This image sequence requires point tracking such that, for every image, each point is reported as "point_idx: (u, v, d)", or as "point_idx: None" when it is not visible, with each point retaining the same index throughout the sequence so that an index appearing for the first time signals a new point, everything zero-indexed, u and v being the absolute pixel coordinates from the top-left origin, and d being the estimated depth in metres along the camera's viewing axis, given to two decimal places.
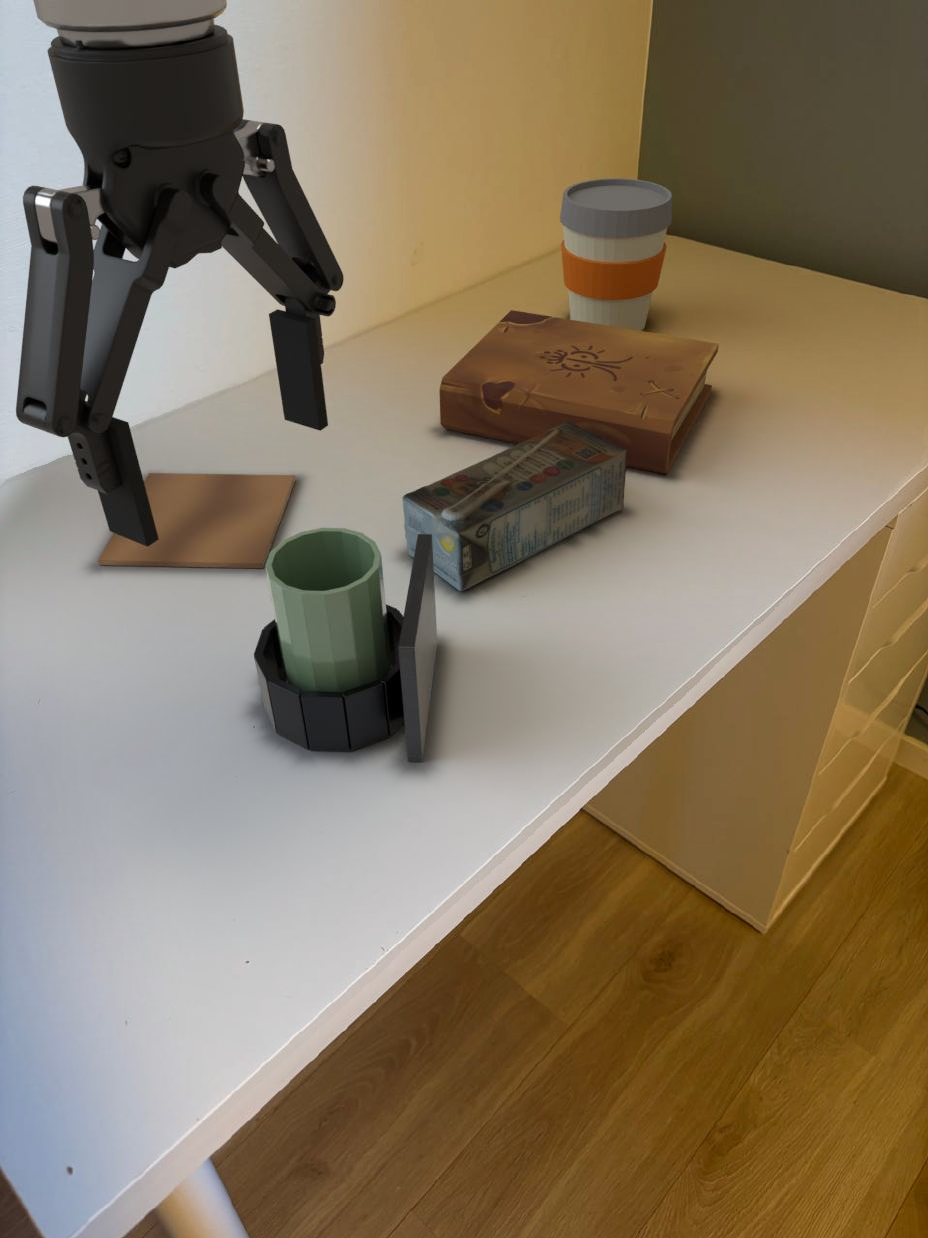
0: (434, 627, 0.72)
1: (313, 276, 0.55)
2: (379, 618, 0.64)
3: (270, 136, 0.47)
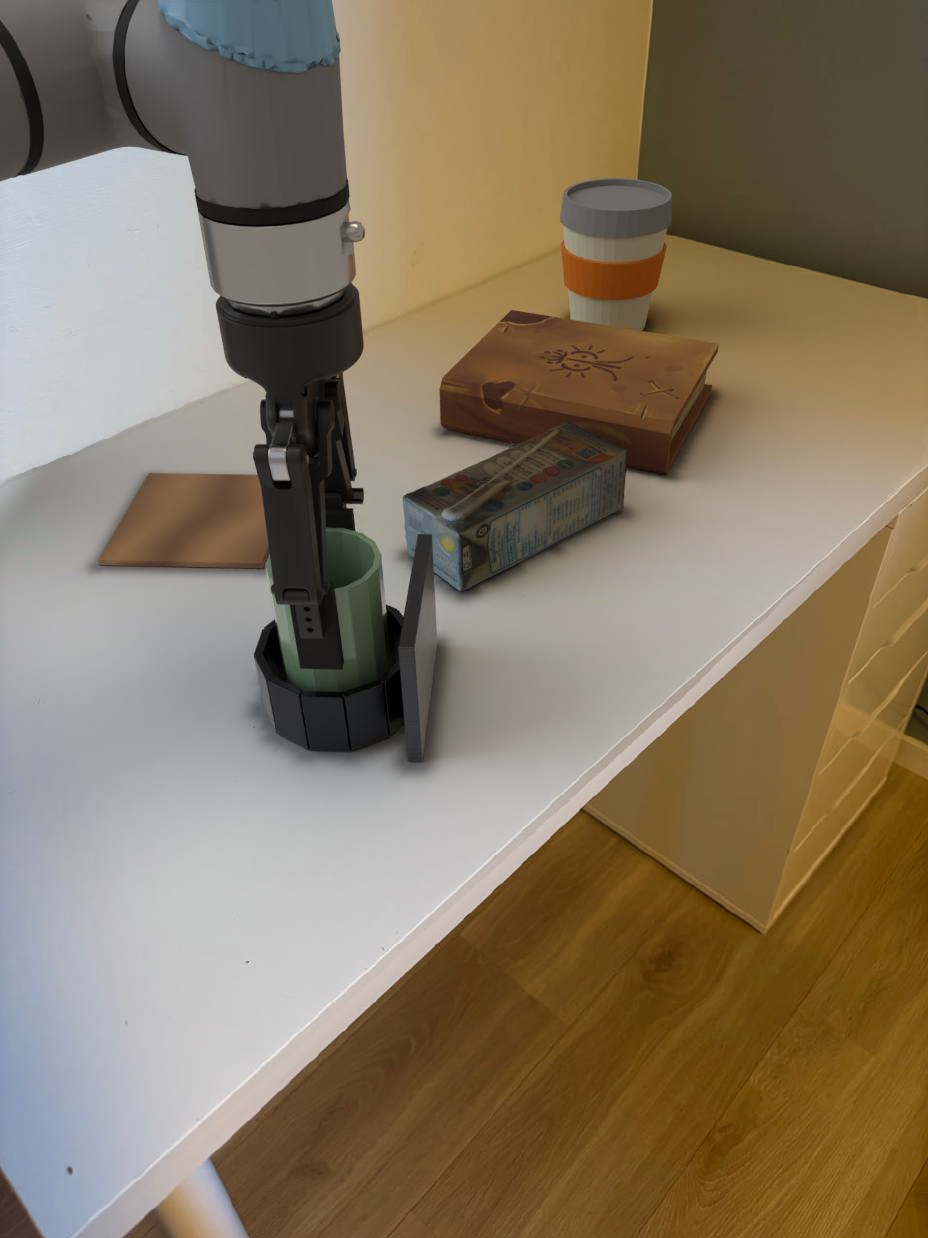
0: (434, 627, 0.72)
1: None
2: (379, 618, 0.64)
3: None
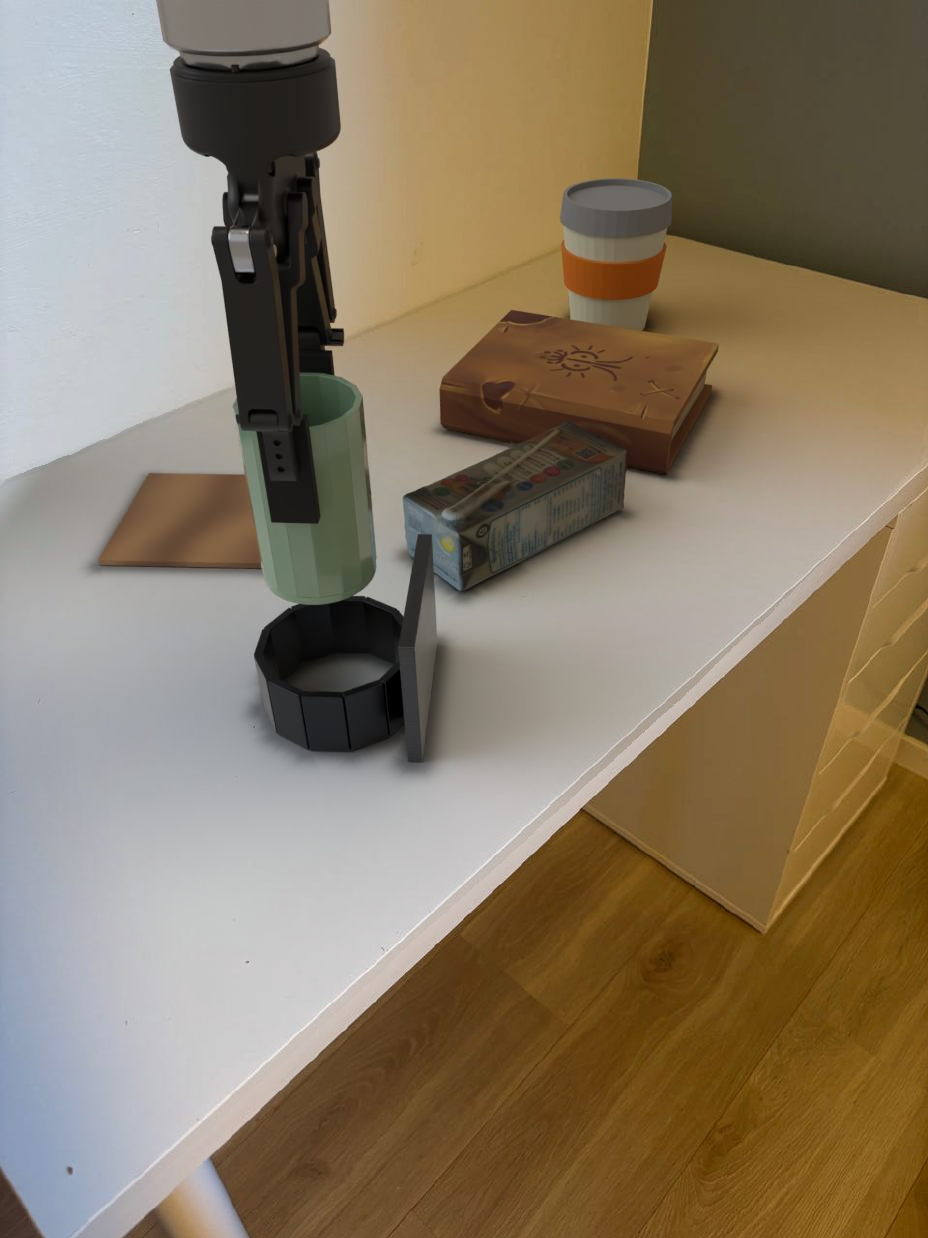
0: (434, 627, 0.72)
1: None
2: (360, 470, 0.58)
3: (313, 159, 0.54)
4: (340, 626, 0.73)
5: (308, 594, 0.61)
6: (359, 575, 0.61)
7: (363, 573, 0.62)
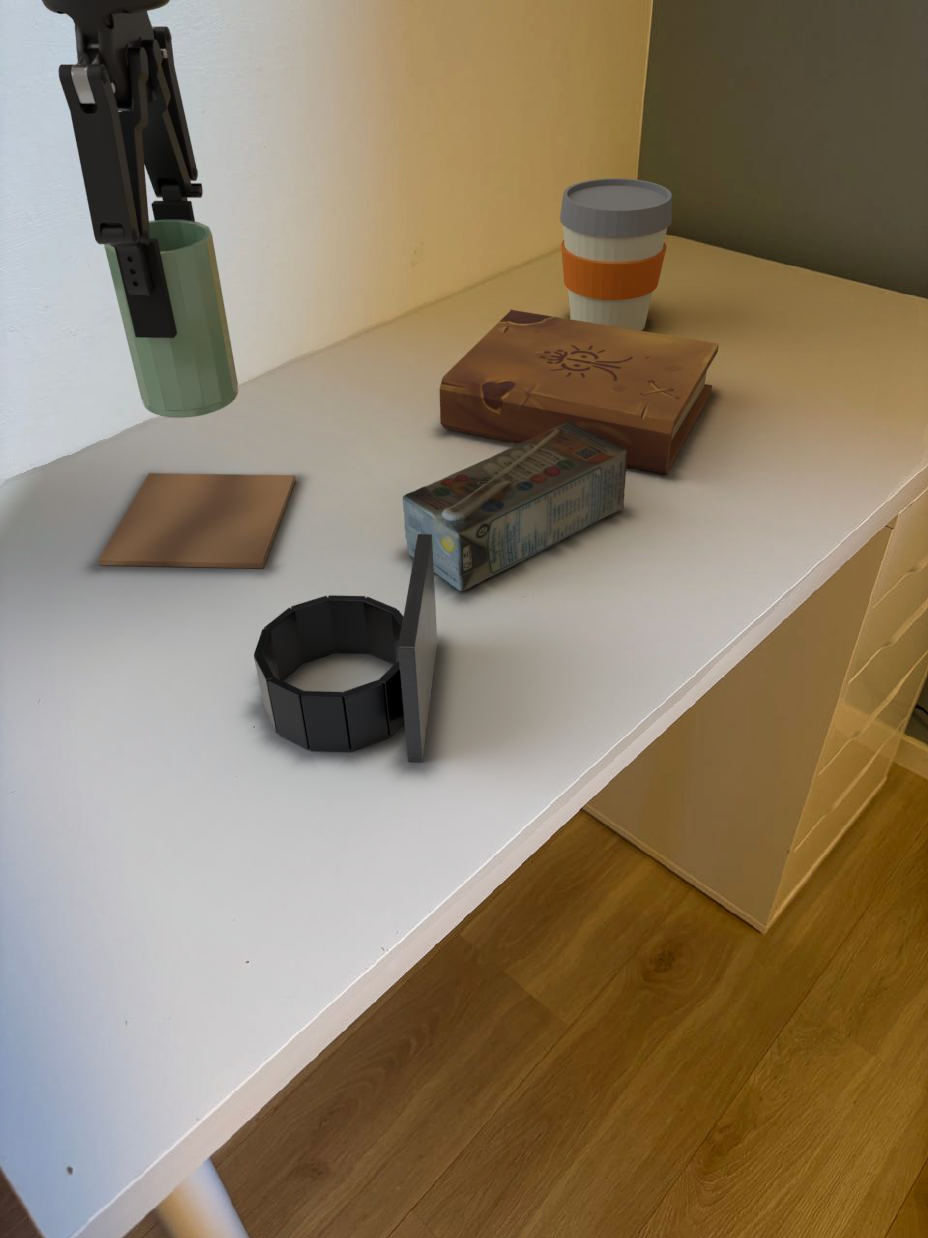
0: (434, 627, 0.72)
1: None
2: (212, 296, 0.70)
3: (164, 32, 0.66)
4: (340, 626, 0.73)
5: (174, 407, 0.73)
6: (218, 393, 0.73)
7: (222, 392, 0.74)
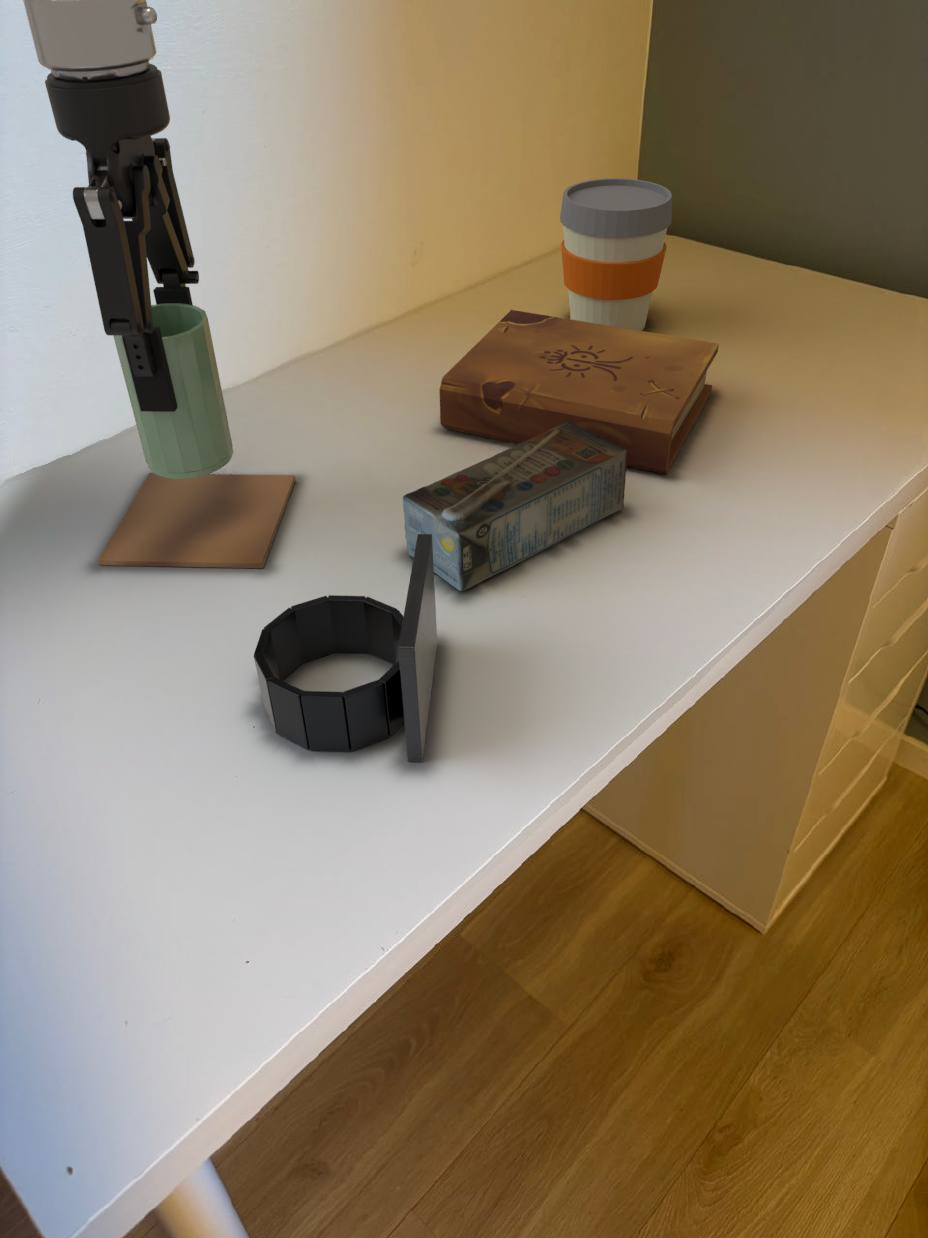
0: (434, 627, 0.72)
1: None
2: (208, 373, 0.78)
3: (164, 143, 0.74)
4: (340, 626, 0.73)
5: (176, 470, 0.81)
6: (215, 456, 0.82)
7: (218, 455, 0.82)
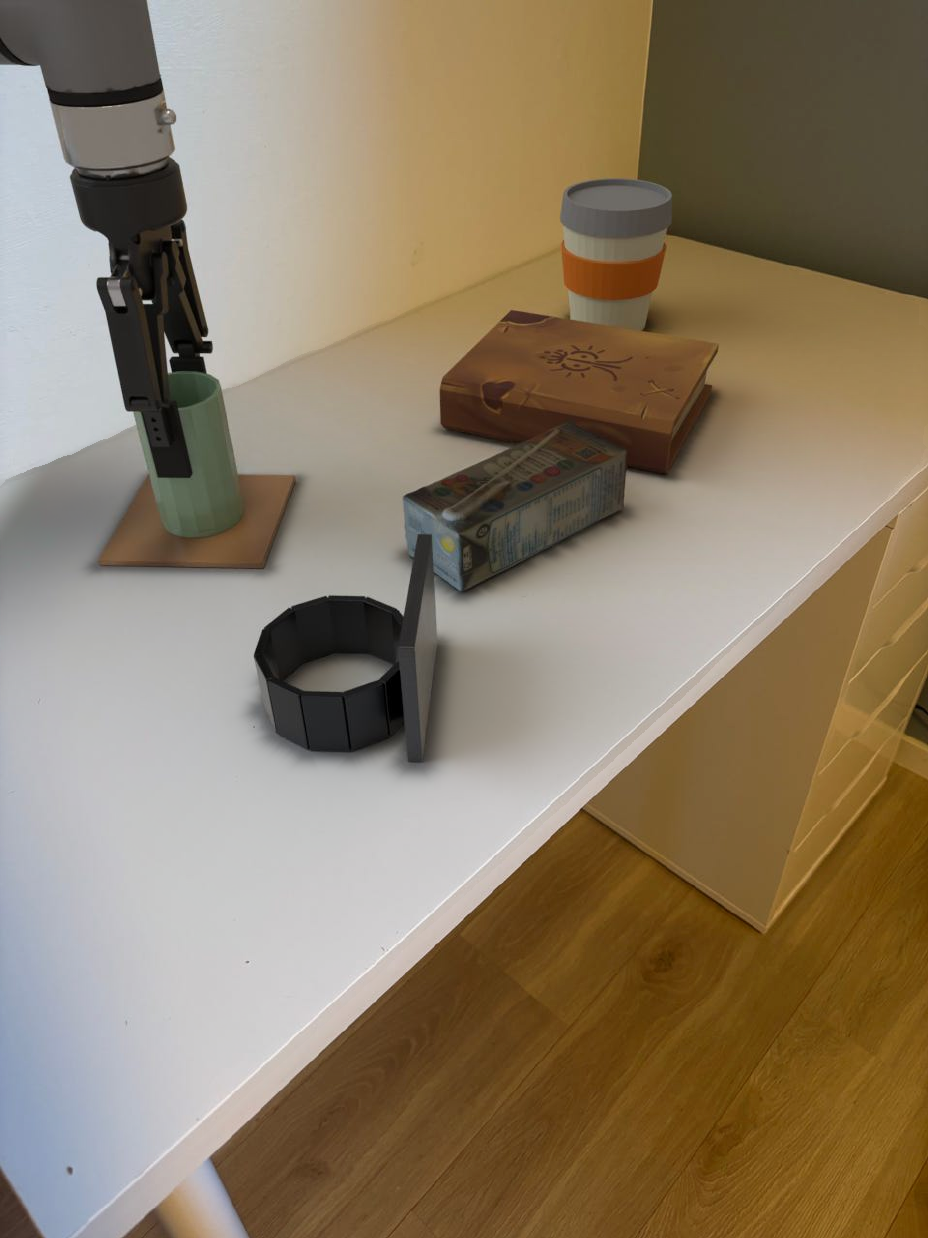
0: (434, 627, 0.72)
1: None
2: (221, 439, 0.82)
3: (180, 225, 0.78)
4: (340, 626, 0.73)
5: (189, 529, 0.85)
6: (227, 516, 0.85)
7: (230, 515, 0.86)
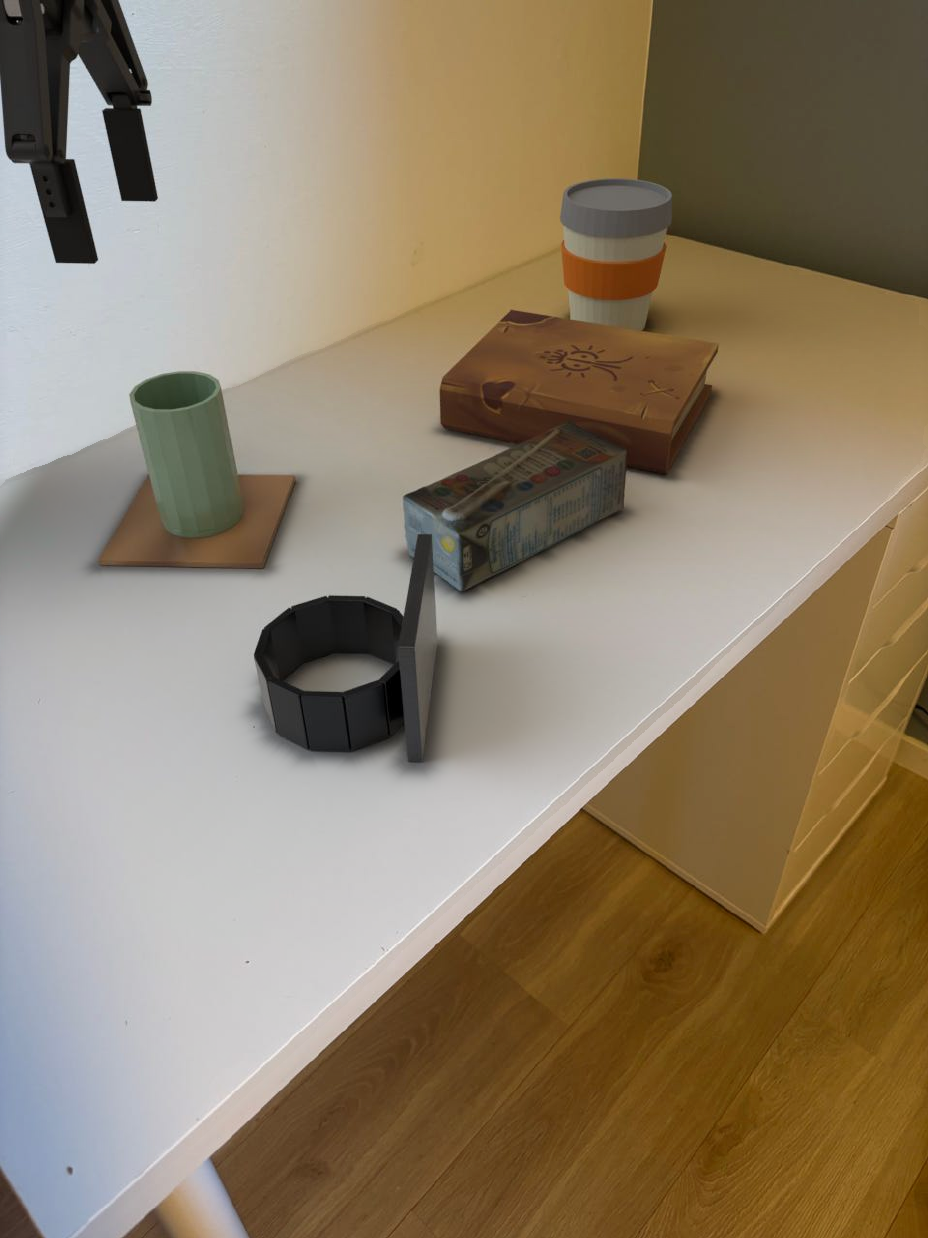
0: (434, 627, 0.72)
1: None
2: (221, 439, 0.82)
3: None
4: (340, 626, 0.73)
5: (189, 529, 0.85)
6: (227, 516, 0.85)
7: (230, 515, 0.86)
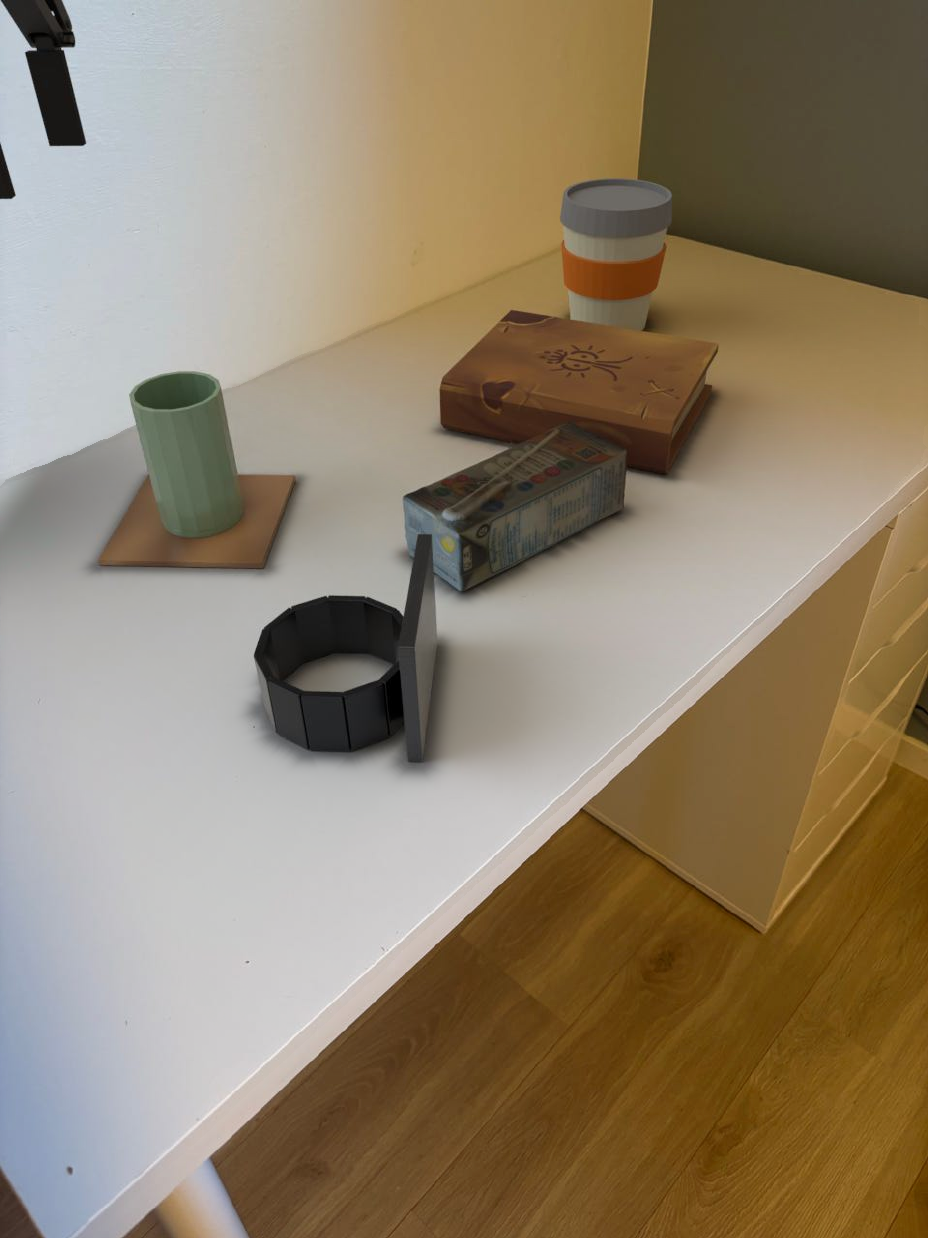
0: (434, 627, 0.72)
1: None
2: (221, 439, 0.82)
3: None
4: (340, 626, 0.73)
5: (189, 529, 0.85)
6: (227, 516, 0.85)
7: (230, 515, 0.86)
